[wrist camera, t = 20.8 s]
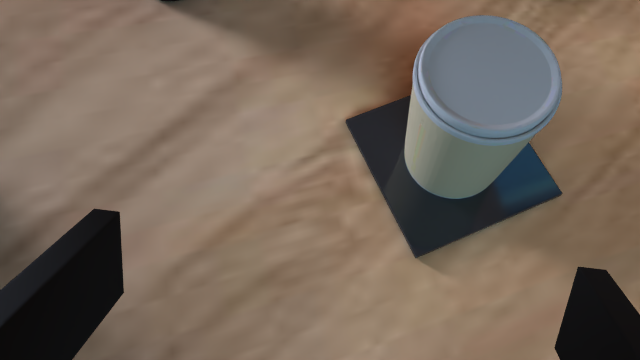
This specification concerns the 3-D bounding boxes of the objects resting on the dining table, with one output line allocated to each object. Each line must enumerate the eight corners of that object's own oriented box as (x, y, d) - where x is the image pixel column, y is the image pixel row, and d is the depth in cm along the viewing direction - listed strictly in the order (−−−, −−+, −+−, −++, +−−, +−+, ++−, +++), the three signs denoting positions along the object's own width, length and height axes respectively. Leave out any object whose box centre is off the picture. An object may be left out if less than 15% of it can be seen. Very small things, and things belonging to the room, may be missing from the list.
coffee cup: (500, 106, 48) (553, 10, 37) (516, 209, 44) (579, 136, 33) (390, 106, 48) (410, 10, 37) (396, 209, 44) (420, 136, 33)
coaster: (345, 122, 48) (345, 119, 47) (478, 71, 50) (480, 68, 49) (415, 258, 43) (416, 256, 42) (560, 195, 45) (562, 193, 44)
